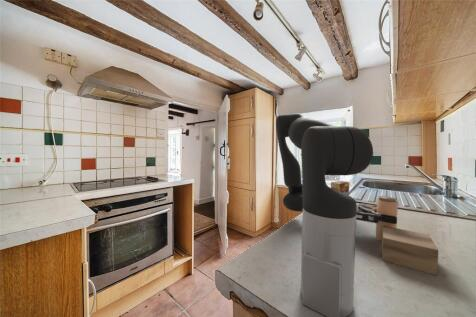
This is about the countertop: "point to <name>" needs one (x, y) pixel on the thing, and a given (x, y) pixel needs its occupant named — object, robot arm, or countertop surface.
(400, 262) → the pedestal
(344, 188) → the candy box
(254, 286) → the countertop surface
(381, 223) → the canister
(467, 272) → the countertop surface
